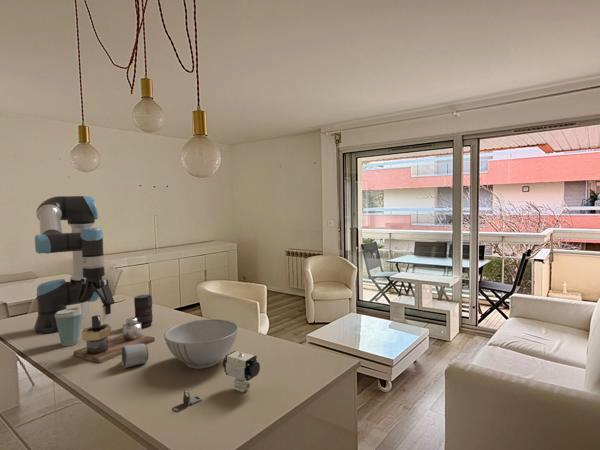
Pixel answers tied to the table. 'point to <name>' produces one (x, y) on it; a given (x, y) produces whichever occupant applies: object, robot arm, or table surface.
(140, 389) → the table surface
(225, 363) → the pneumatic valve
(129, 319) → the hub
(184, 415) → the table surface
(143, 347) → the ceramic mug
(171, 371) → the table surface
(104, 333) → the ring
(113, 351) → the board
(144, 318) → the camera lens
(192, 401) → the strap clip
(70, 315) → the disposable coffee cup
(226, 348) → the decorative bowl
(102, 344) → the nail polish bottle
